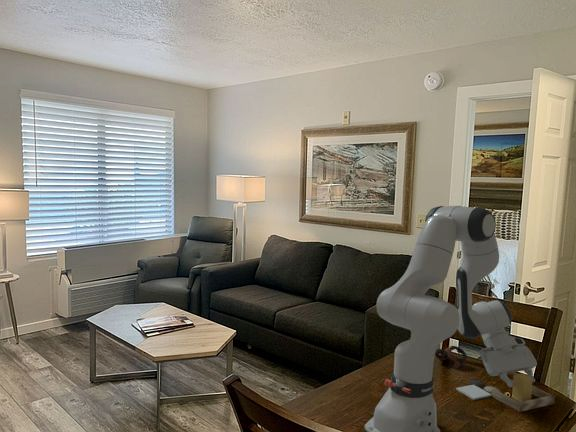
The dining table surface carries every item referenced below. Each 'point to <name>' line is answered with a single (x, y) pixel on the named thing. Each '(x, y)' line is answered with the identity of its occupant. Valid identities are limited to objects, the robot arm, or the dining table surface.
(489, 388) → the painted circle
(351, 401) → the dining table surface
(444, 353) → the pottery mug
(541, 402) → the cubby
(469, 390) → the pad
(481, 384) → the hole disc
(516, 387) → the ochre block
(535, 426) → the dining table surface
